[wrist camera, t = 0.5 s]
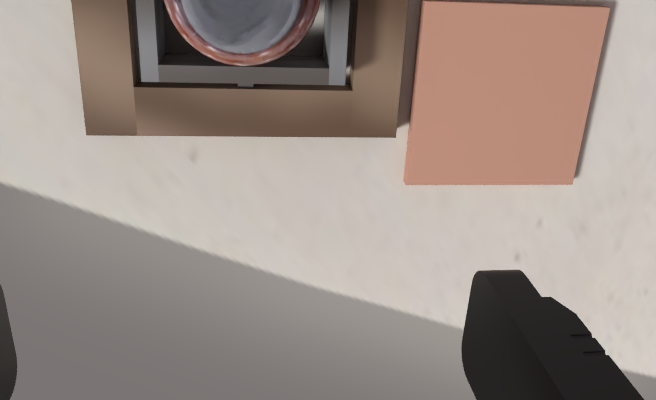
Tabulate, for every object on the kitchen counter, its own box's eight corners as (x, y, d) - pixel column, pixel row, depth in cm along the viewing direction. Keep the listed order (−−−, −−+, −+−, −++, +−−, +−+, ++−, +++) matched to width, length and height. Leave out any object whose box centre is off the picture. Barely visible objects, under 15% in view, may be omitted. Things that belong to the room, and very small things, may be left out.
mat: (421, 0, 32) (424, 1, 32) (604, 6, 33) (610, 7, 33) (403, 180, 36) (406, 184, 36) (567, 180, 37) (572, 184, 37)
